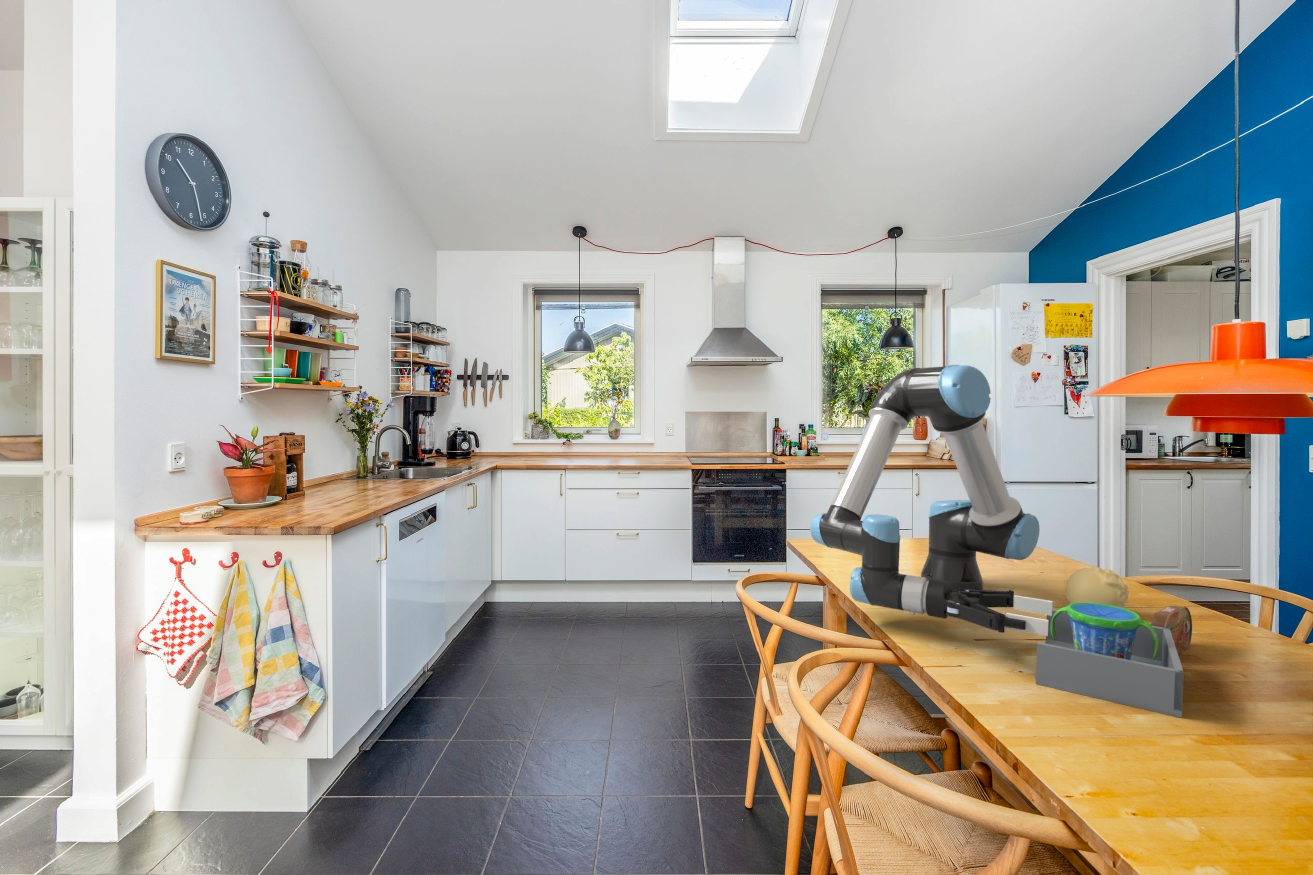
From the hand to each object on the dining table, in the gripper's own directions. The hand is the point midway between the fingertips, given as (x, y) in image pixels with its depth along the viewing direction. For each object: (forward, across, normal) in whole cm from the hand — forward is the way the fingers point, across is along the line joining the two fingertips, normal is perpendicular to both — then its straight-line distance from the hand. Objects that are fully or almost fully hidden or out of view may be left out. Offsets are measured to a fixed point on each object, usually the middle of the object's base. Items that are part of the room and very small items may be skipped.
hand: (1050, 617), depth 112 cm
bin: (+9, 0, -8) cm, 12 cm away
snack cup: (+8, -1, -8) cm, 11 cm away
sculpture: (+7, -42, -9) cm, 44 cm away
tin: (+19, -22, -9) cm, 30 cm away
